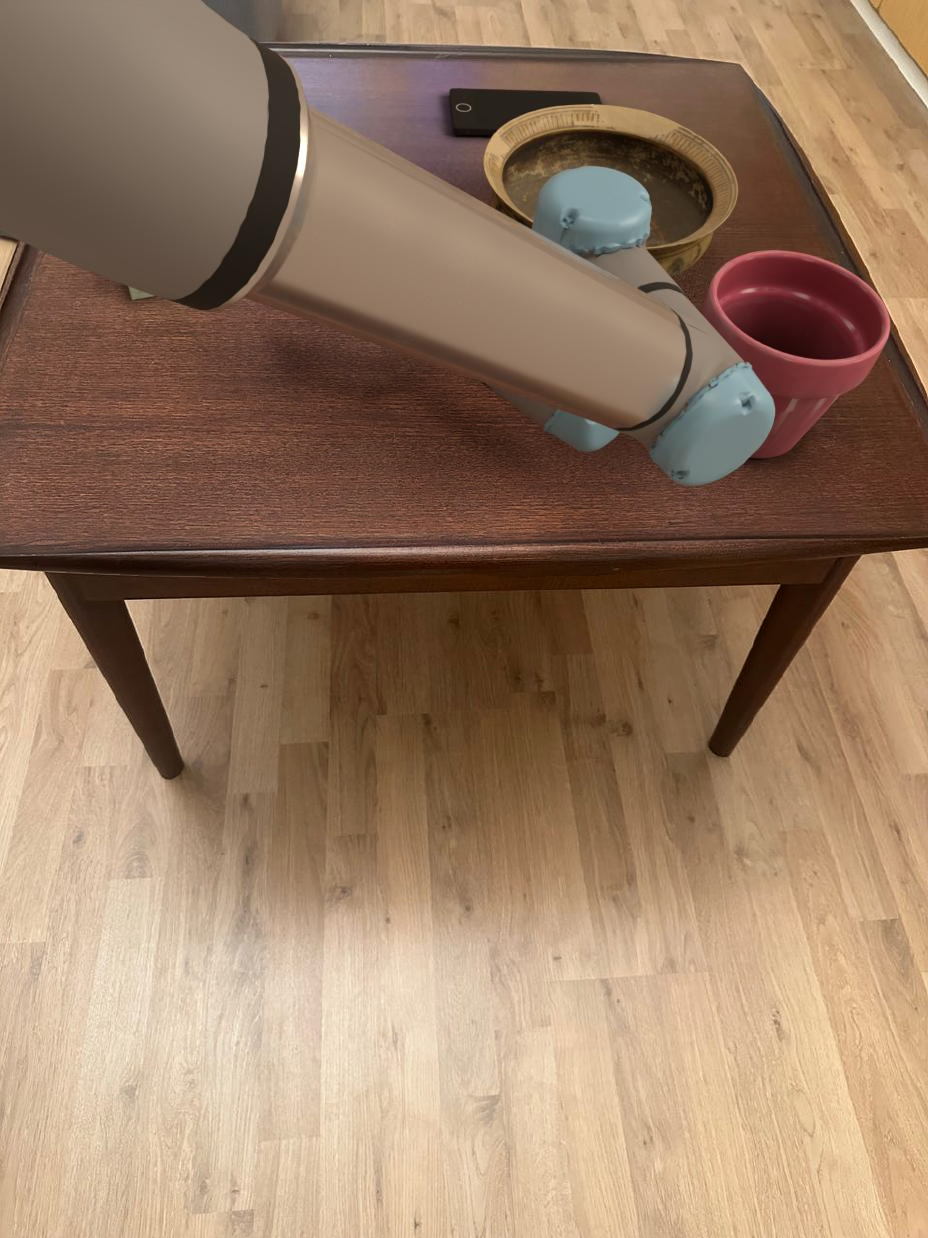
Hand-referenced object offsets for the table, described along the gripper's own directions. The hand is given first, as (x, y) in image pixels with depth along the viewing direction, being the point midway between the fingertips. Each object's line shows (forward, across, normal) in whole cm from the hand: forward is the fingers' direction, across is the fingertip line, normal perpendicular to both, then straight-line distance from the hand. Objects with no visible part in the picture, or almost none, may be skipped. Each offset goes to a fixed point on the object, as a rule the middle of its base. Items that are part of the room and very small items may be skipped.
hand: (297, 198), depth 83 cm
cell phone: (+7, +39, -9) cm, 41 cm away
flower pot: (-40, +17, -9) cm, 45 cm away
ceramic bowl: (-16, +24, -9) cm, 30 cm away
